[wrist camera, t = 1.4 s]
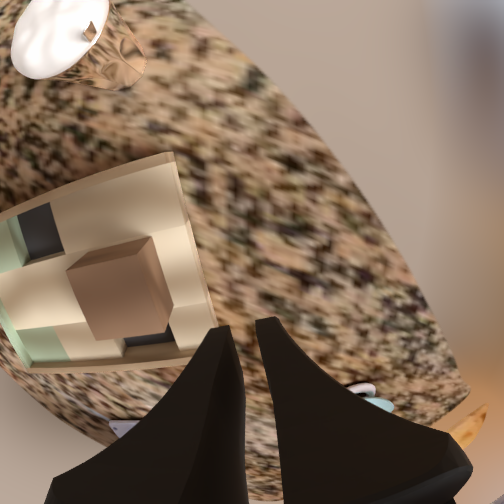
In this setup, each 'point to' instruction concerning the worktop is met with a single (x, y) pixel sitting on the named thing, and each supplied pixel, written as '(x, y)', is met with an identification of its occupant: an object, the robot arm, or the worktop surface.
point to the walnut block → (122, 290)
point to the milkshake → (77, 44)
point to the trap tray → (89, 239)
